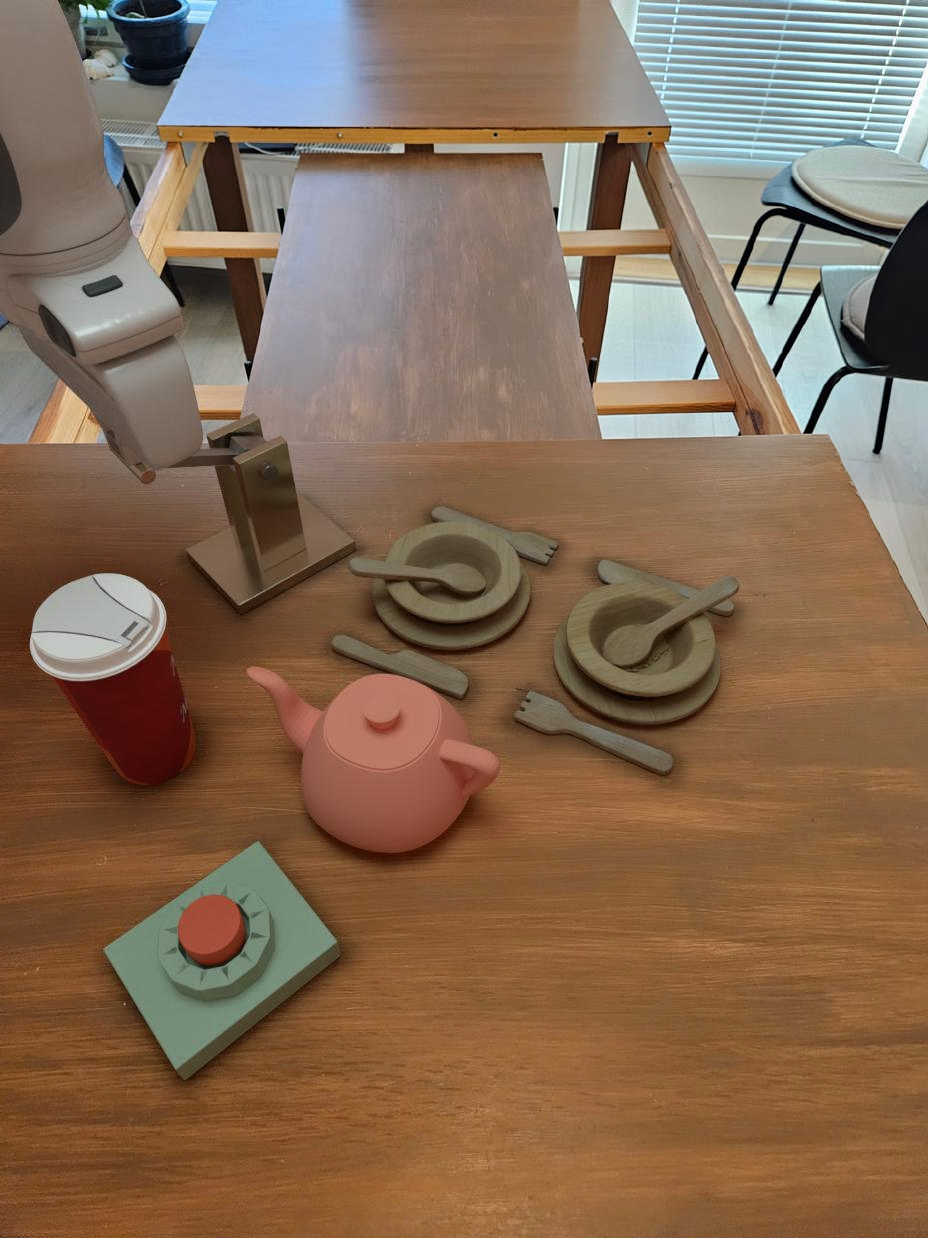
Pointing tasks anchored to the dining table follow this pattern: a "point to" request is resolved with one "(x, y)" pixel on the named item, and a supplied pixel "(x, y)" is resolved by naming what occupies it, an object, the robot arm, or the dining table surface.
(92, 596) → the coffee cup
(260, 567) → the metal lever stand
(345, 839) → the teapot
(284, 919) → the button box
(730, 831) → the dining table surface
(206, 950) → the button
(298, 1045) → the dining table surface
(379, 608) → the tableware set
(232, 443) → the lever
